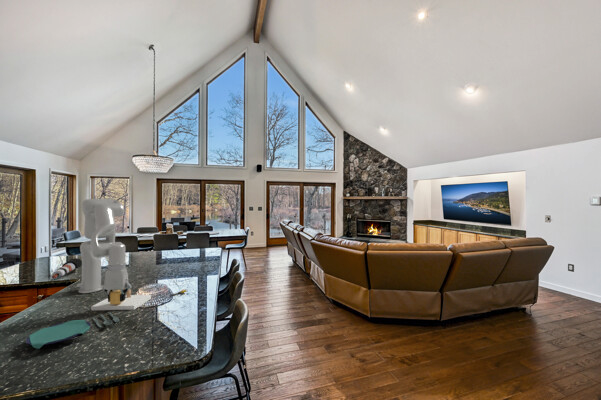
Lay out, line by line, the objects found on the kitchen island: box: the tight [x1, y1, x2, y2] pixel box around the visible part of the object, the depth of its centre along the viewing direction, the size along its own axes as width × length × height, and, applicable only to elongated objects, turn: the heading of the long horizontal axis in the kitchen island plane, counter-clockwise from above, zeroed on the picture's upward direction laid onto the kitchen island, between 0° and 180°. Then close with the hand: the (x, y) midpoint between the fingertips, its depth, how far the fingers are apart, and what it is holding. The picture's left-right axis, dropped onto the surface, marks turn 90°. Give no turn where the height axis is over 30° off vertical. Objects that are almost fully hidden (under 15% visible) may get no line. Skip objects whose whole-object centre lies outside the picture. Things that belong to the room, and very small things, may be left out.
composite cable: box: [170, 288, 188, 298], centre depth 156 cm, size 10×5×2 cm, turn 132°
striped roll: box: [51, 258, 82, 279], centre depth 199 cm, size 10×34×10 cm
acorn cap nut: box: [110, 290, 123, 304], centre depth 136 cm, size 6×6×6 cm
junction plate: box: [90, 288, 152, 311], centre depth 141 cm, size 22×16×6 cm
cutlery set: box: [25, 311, 121, 350], centre depth 112 cm, size 20×30×2 cm, turn 140°
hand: (116, 300), depth 136 cm, fingers closed on acorn cap nut, 5 cm apart
